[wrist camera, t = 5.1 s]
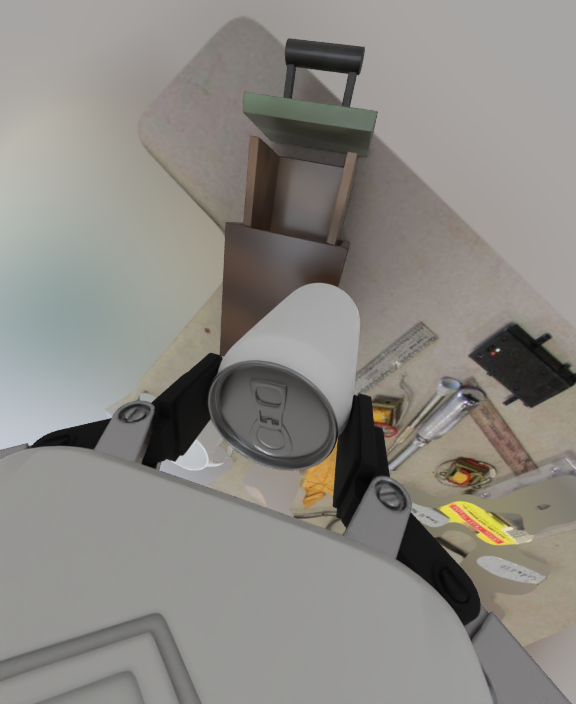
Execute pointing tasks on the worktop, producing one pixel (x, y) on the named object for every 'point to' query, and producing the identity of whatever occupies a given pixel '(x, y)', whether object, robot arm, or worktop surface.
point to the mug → (203, 450)
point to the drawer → (309, 131)
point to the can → (290, 380)
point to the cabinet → (269, 274)
